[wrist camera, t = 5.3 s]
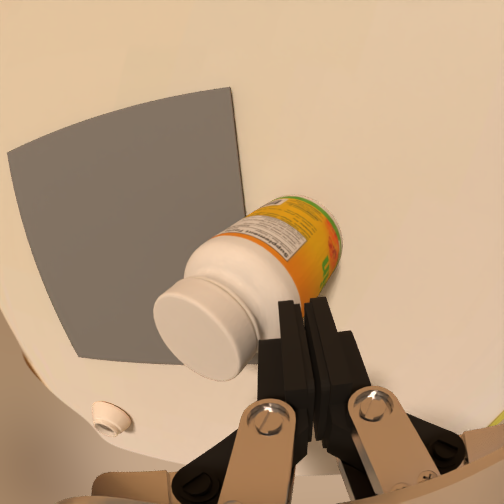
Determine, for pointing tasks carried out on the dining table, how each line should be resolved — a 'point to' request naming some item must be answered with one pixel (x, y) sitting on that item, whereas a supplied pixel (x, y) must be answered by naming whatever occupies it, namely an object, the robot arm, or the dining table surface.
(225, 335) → the supplement bottle
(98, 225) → the felt mat
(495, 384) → the dining table surface
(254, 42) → the dining table surface
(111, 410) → the lidless jar
